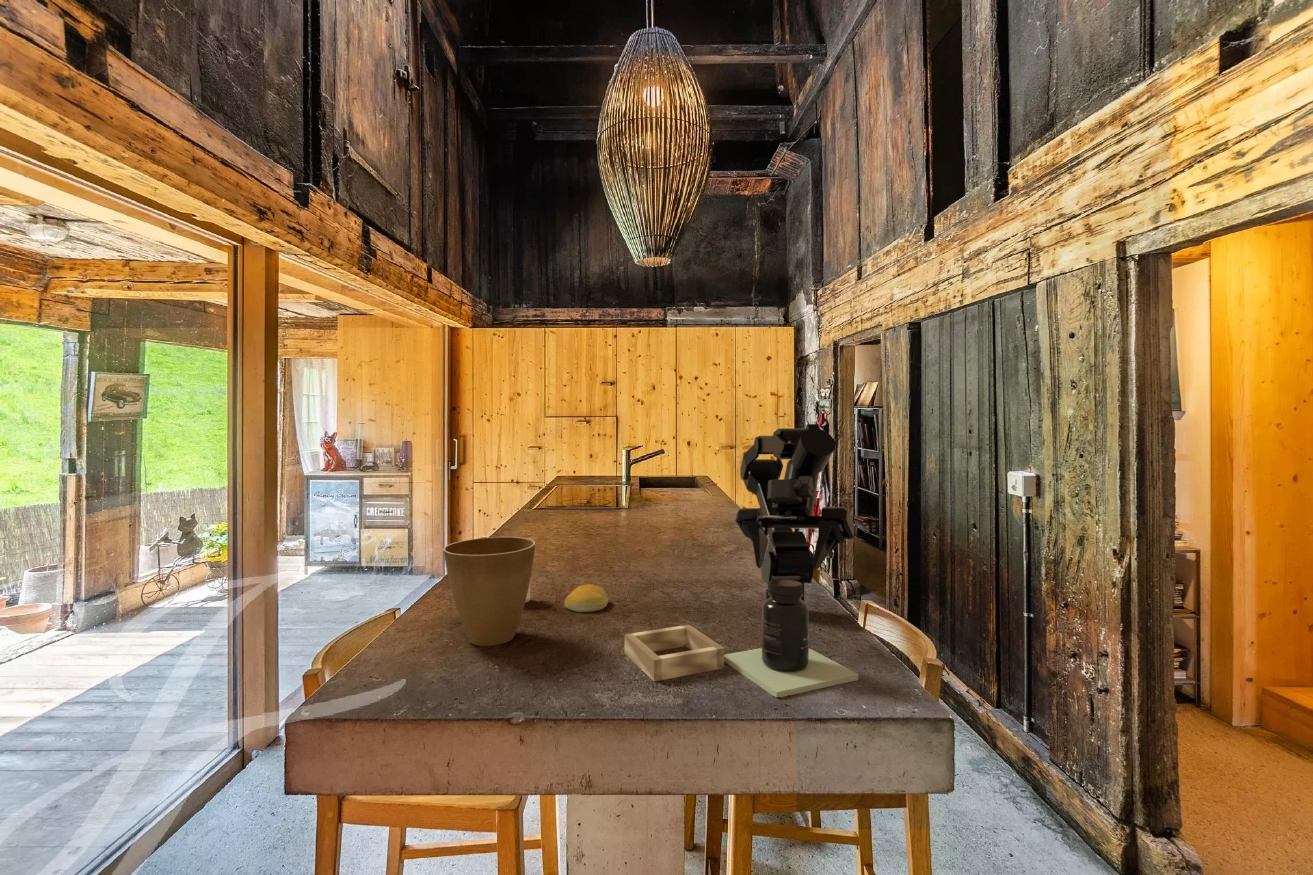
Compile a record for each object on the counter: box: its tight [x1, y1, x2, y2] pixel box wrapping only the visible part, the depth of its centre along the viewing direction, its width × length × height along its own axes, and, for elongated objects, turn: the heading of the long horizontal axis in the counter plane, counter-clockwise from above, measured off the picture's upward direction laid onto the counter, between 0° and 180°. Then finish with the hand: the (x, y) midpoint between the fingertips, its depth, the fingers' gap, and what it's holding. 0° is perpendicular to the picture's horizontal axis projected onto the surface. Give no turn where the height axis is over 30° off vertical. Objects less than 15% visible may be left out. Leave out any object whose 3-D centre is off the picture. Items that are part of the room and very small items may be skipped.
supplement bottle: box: [761, 579, 810, 671], centre depth 88 cm, size 7×7×12 cm
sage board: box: [724, 647, 859, 698], centre depth 88 cm, size 14×14×1 cm
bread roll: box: [563, 584, 610, 613], centre depth 119 cm, size 8×9×4 cm
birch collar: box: [624, 624, 725, 682], centre depth 91 cm, size 11×11×3 cm
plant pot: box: [442, 536, 536, 647], centre depth 100 cm, size 15×15×16 cm
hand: (785, 568), depth 95 cm, fingers open, 9 cm apart
